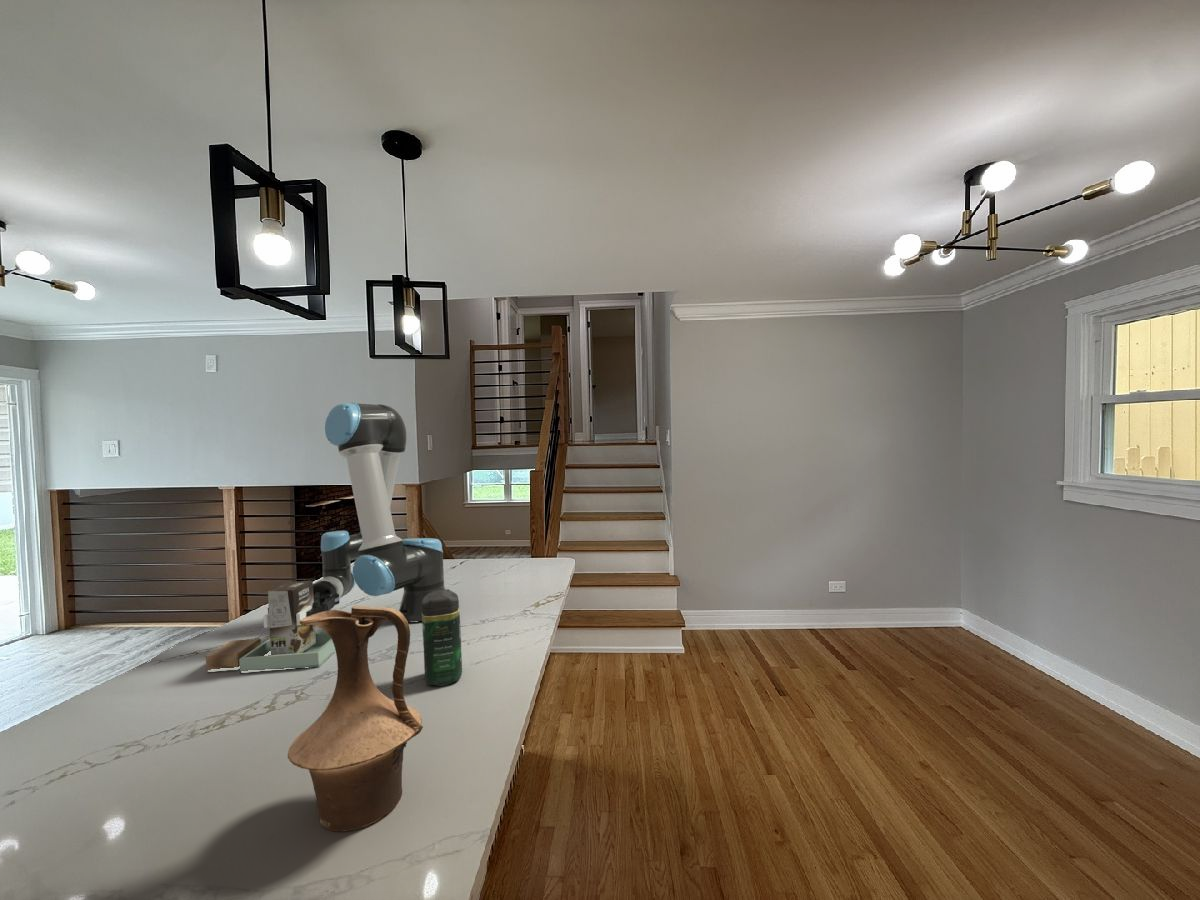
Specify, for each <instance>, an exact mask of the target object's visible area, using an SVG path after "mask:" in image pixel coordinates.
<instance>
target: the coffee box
mask: <svg viewBox="0 0 1200 900" xmlns="http://www.w3.org/2000/svg"><path fill="white" fill-rule="evenodd" d="M313 584H314V581H313V580H300V581H289V582H286V583H285V584H281V585H280V586H277V587H274V588H272V589H269V590H268V591H267V599H268V608H269V627H268V628H269V638H270V650H271V655H281V654H293V653H302V652H303V651H305V650H306V649H308V648H309V647H311V646H312V645H314V644H315V643H316V636H315V633H316V626H314V625H307V624H301V625H297V617H296V614H297V613H299V612H300V611H302V610H303V609H305V608H306V607H308V606H312V608H313V603H314V597H313Z"/></svg>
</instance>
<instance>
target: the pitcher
mask: <svg viewBox="0 0 1200 900" xmlns="http://www.w3.org/2000/svg"><path fill="white" fill-rule="evenodd" d="M350 608H351V611H348V610H339V609H331V610H329V611H323V612H320V613H317V614H313V615H311V616H308V617H305V618H303V619H302V620H300V624H307V625H314V626H315V627H316V628H317V627H318V628H319V629H321V630H324V631H325V632H327V633H328V634H329V636H330V637H331V639H332V641H333V644H334V646H335V650H336V652H335V656H336V661H337V677H336V684H335V688H334V690H333V691H334V692H333V695H332V697H331V700H330V701H329V702H328V705H327V706H326V708H325V710H324V711H323V712H322V713H321V714H320V716H318V718H317V719H316V720H315V721H314V722H313V723H312V724H310V726H308V727H307V728H306V729H305V730H304V731H302V733H300V735H298V736H297V737H296V738H295V739H294V740H293V741H292V743H291V744H290V746H289V747H288V752H287V759H288V760H289V762H290V763H291V764H292V765H293V766H295V767H297V768H300V769H302V770H303V769H304V770H307V771H308V772H309V774H310V778H311V780H312V781H311V782H312V784H313V785H312V786H313V790H314V794H315V800H316V801H315V802H316V806H317V811H318V812H317V813H318V821H319V823H320V825H321V827H324V828H325V829H327V830H329V831H335V832H346V831H352V830H353V831H354V830H358V829H361V828H364V827H367V826H369V825H371V824H373V823H375V822H377V821H379V820H380V819H383V818H384V817H385V816H386V815H387V814H389V813H390V812H391V811H393V809H394V808H395V807H396V806H397V805H398V804H399V802H400V800H401V798H402V796H403V783H402V778H403V761H404V749H405V748H406V747H407V744H408V741H410V740H411V739H413V738H414V737H416V736H418V735H419V734H420V733H421V732H422V730H423V728H424V726H423V725H422V720H423V719H422V717H421V716H422V715H420V713H419V712H418V710H416V709H415V708H414V707H412V706H410V705H407V703H406V700H405V697H404V678H405V673H406V664H407V660H408V659H407V658H408V655H409V650H410V643H411V629H410V625H409V622H407V620H406V618H405V617H404V615H403V614H402V613H401V612H399V609H398V610H397V609H395V608H392V607H386V606H363V605H354V606H352V607H350ZM385 620H386V621H388V622H391V623H392V624H393V625H394V627H395V629H396V632H397V647H396V654H395V659H394V665H393V672H392V685H391V689H392V691H391V692H392V696H393V697H392V699H393V700H392V699H391V698H388V696H386V695H385V694H383V693H382V692H381V691H380V689H378V687H377V685H376V683H375V682H374V680H373V678H372V675H371V671H370V668H369V658H368V648H369V647H368V646H369V639H370V638H372V637H373V636H374V635H375V634H376V632H377V630H378V629H379V628H380V626H381V625H382V623H383V622H384V621H385Z"/></svg>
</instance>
